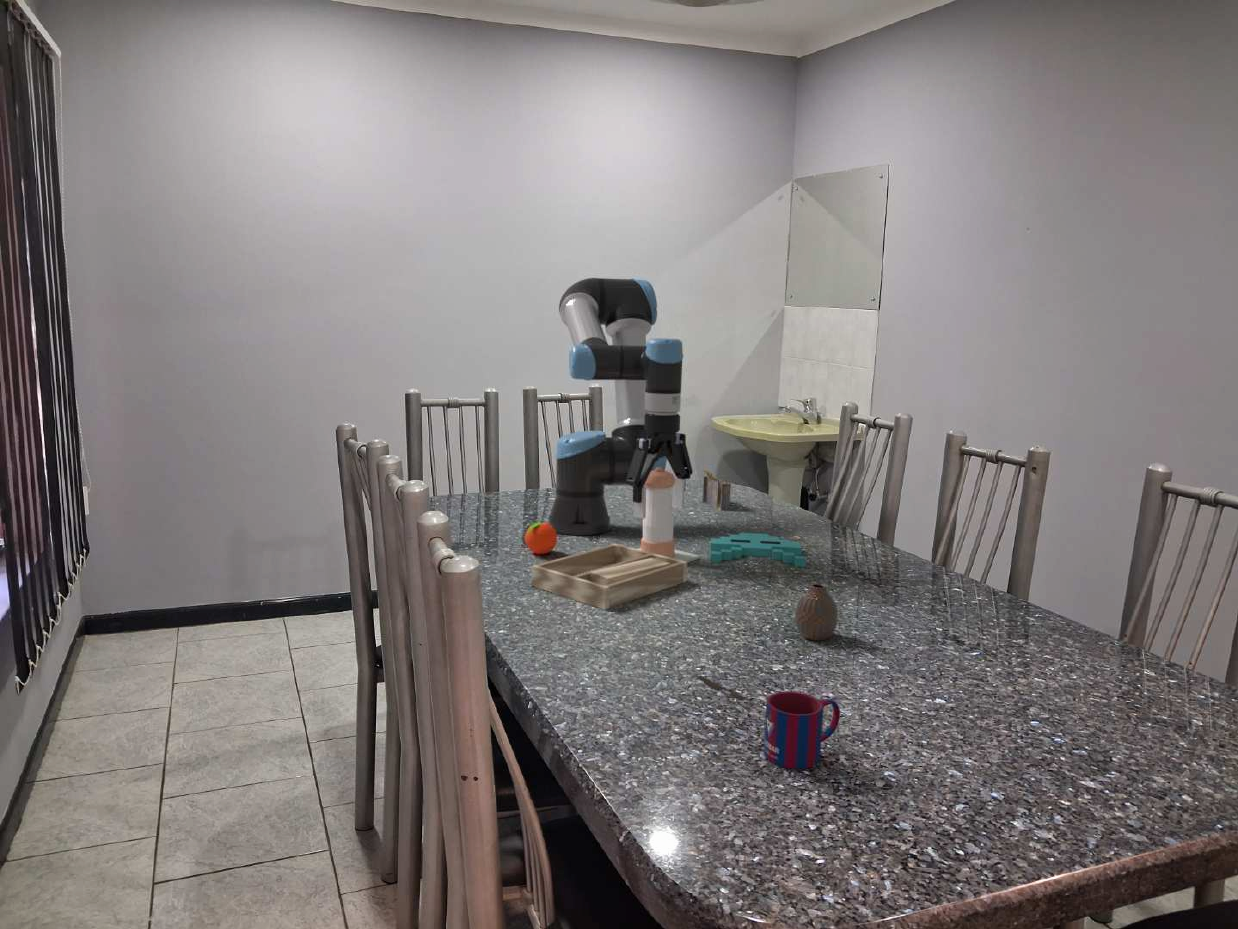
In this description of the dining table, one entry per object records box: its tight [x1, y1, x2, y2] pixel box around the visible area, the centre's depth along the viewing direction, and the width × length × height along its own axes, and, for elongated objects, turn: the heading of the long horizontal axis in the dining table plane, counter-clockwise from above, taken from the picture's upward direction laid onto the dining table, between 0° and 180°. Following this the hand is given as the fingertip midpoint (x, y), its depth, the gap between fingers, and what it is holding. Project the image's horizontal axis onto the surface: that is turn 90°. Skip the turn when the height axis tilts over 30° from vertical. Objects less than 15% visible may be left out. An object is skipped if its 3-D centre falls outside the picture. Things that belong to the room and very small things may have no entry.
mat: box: [637, 547, 701, 563], centre depth 194 cm, size 13×13×1 cm
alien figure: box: [710, 532, 807, 568], centre depth 201 cm, size 20×2×20 cm
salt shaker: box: [640, 467, 676, 558], centre depth 192 cm, size 7×7×19 cm
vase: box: [794, 583, 839, 641], centre depth 149 cm, size 7×7×9 cm
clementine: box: [524, 521, 558, 555], centre depth 194 cm, size 8×7×7 cm
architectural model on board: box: [702, 469, 732, 511], centre depth 246 cm, size 11×3×10 cm, turn 20°
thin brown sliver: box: [696, 675, 749, 702], centre depth 128 cm, size 12×3×1 cm, turn 34°
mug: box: [763, 691, 841, 770], centre depth 109 cm, size 7×10×7 cm
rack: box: [530, 543, 688, 611], centre depth 175 cm, size 19×24×4 cm
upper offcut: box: [590, 558, 669, 586], centre depth 171 cm, size 5×16×2 cm, turn 132°
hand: (659, 512), depth 192 cm, fingers open, 12 cm apart
